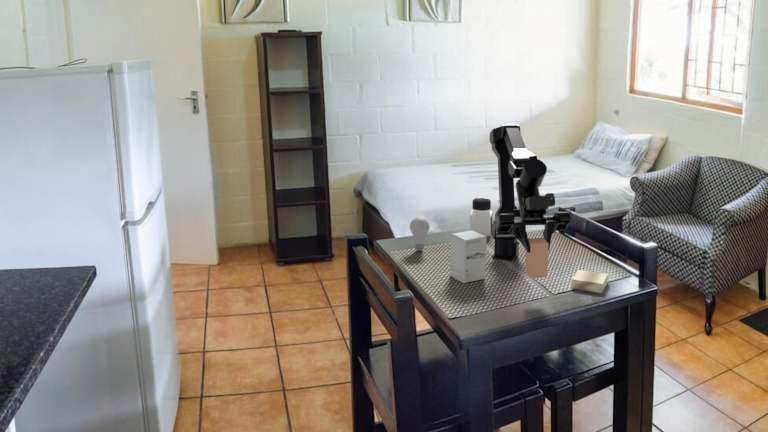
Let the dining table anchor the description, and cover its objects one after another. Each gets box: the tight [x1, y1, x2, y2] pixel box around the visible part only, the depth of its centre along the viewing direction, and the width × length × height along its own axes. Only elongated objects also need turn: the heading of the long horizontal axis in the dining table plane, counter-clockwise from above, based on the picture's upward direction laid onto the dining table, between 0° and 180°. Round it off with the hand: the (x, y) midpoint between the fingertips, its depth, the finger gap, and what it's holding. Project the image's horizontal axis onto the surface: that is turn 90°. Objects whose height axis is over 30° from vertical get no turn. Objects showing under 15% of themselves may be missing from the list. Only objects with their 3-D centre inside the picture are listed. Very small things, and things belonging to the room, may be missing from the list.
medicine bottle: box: [469, 197, 493, 237], centre depth 238 cm, size 7×7×12 cm
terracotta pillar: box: [524, 237, 549, 279], centre depth 179 cm, size 4×4×9 cm
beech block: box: [571, 269, 609, 294], centre depth 191 cm, size 8×8×3 cm
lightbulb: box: [409, 216, 430, 252], centre depth 220 cm, size 6×6×11 cm
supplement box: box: [449, 230, 487, 284], centre depth 197 cm, size 7×7×13 cm
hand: (538, 251), depth 177 cm, fingers closed on terracotta pillar, 4 cm apart
